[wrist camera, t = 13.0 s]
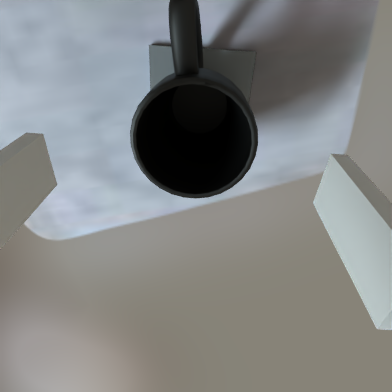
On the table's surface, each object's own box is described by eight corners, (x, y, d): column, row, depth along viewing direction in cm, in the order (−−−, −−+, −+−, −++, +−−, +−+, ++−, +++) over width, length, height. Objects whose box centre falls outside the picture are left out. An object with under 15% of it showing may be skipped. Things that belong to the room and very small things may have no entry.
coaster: (150, 44, 24) (149, 45, 23) (255, 51, 23) (256, 52, 23) (153, 143, 28) (152, 145, 28) (240, 149, 28) (241, 152, 28)
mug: (249, -1, 21) (271, -13, 13) (242, 146, 27) (254, 198, 19) (143, 5, 22) (102, -3, 14) (160, 148, 28) (140, 199, 20)
